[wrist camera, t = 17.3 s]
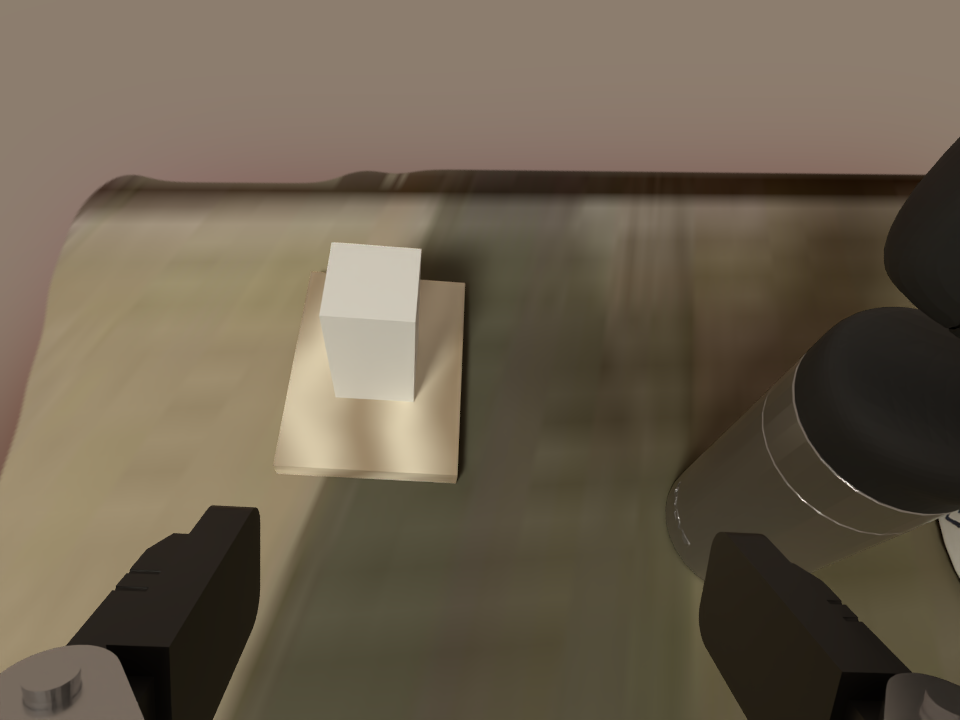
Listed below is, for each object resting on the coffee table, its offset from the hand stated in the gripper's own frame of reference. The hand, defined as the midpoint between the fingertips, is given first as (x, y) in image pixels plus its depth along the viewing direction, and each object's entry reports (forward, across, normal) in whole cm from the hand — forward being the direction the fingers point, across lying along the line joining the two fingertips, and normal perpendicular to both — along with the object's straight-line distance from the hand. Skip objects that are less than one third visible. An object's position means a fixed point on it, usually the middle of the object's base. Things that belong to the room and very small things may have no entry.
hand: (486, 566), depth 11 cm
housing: (+35, +5, +6) cm, 36 cm away
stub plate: (+36, +5, +7) cm, 37 cm away
